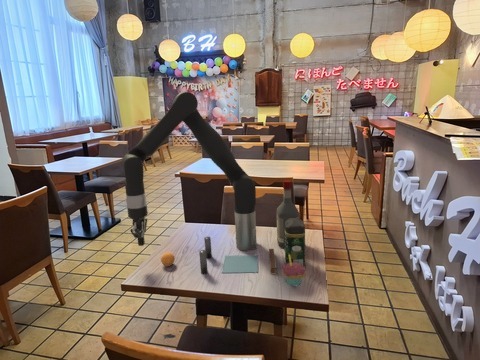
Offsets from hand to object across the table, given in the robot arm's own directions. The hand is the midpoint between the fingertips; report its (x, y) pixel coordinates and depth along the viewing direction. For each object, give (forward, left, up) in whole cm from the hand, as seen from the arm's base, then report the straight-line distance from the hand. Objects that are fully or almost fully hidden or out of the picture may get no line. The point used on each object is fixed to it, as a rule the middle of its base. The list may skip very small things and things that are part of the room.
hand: (141, 244), depth 130 cm
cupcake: (-60, +14, -10) cm, 63 cm away
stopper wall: (-53, 0, -9) cm, 54 cm away
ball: (-10, 0, -7) cm, 12 cm away
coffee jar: (-62, +1, -10) cm, 63 cm away
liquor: (-61, -17, -10) cm, 64 cm away
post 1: (-26, +6, -9) cm, 29 cm away
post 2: (-26, -6, -9) cm, 29 cm away
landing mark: (-40, 0, -9) cm, 41 cm away
